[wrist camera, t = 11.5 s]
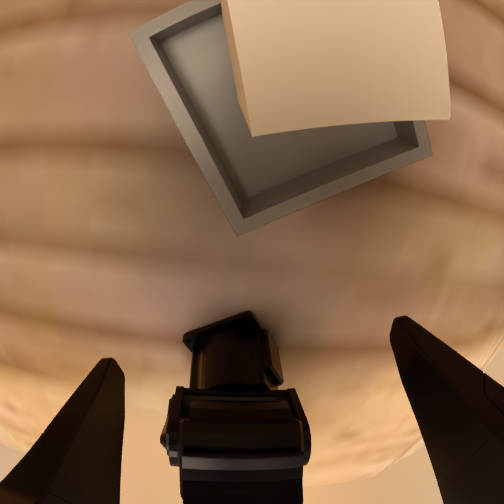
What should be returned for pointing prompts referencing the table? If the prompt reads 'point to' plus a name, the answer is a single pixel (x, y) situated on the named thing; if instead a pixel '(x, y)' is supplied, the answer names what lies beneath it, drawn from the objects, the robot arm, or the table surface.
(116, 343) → the table surface
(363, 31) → the cream block
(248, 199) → the grey square tray
